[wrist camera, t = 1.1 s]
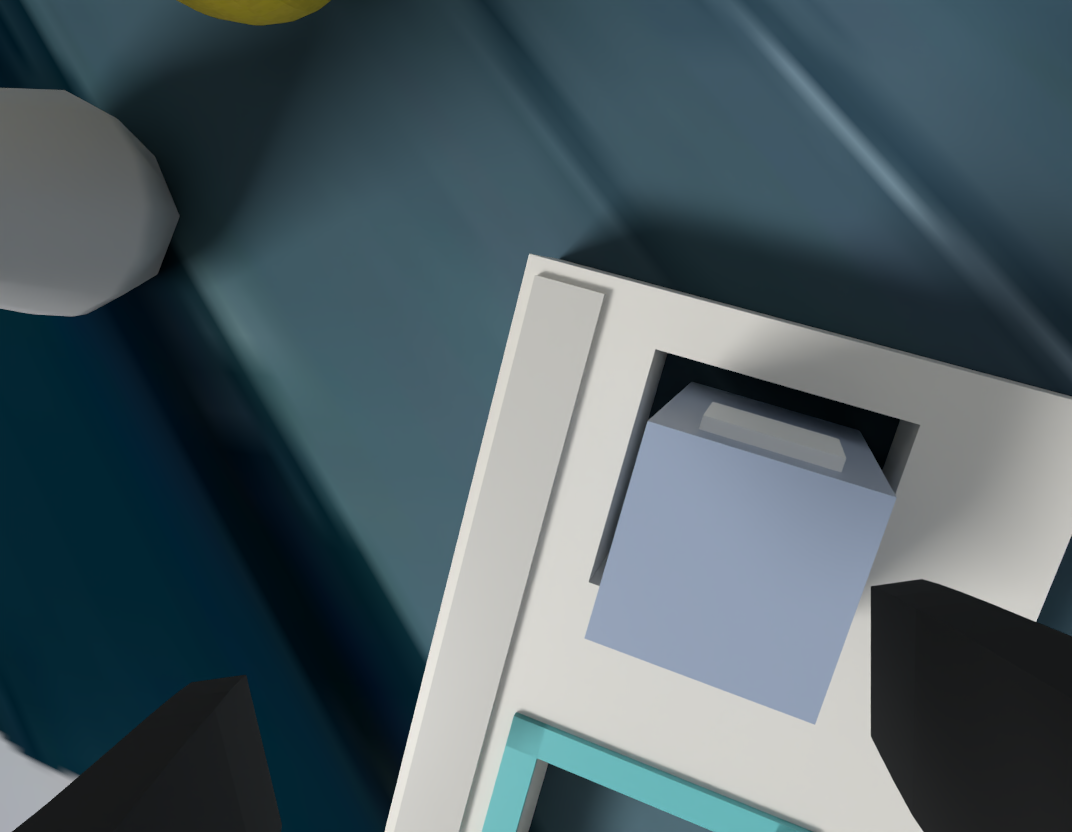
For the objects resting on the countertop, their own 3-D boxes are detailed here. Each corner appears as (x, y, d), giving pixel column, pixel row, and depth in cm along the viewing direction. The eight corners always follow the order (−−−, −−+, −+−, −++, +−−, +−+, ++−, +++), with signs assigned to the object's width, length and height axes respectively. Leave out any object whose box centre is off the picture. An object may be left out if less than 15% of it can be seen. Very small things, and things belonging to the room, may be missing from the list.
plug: (862, 419, 20) (902, 482, 13) (805, 586, 21) (814, 724, 14) (694, 371, 21) (651, 406, 14) (646, 533, 22) (584, 637, 15)
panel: (1078, 397, 18) (1125, 414, 16) (815, 1061, 22) (819, 1161, 20) (558, 258, 21) (526, 253, 19) (401, 868, 25) (356, 934, 22)
